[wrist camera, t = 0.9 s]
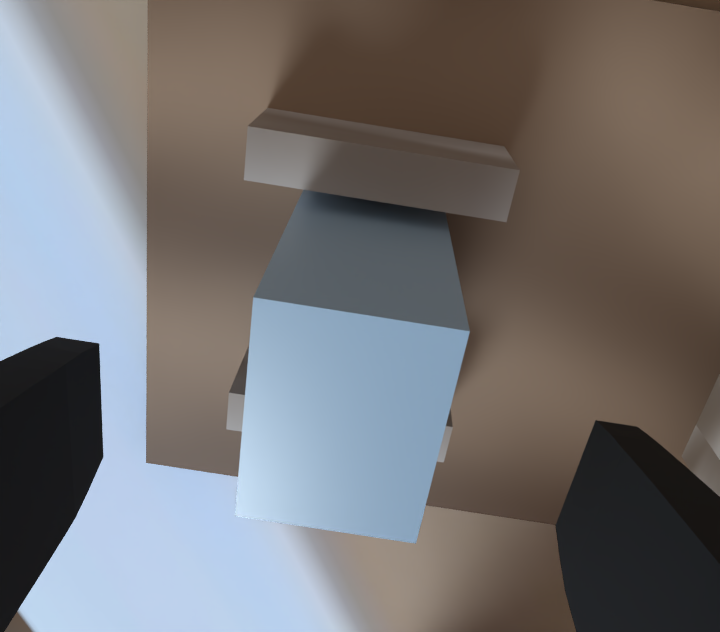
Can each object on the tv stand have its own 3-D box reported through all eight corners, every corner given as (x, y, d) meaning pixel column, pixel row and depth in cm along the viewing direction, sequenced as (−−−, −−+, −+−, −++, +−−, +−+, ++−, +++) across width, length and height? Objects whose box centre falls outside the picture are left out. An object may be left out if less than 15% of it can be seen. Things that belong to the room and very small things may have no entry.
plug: (410, 359, 16) (415, 543, 11) (289, 340, 16) (235, 516, 11) (443, 203, 14) (469, 331, 9) (307, 181, 14) (253, 297, 9)
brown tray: (911, 564, 19) (988, 651, 17) (153, 449, 19) (115, 520, 16) (1249, 101, 13) (1447, 128, 11) (158, -82, 13) (100, -98, 10)
